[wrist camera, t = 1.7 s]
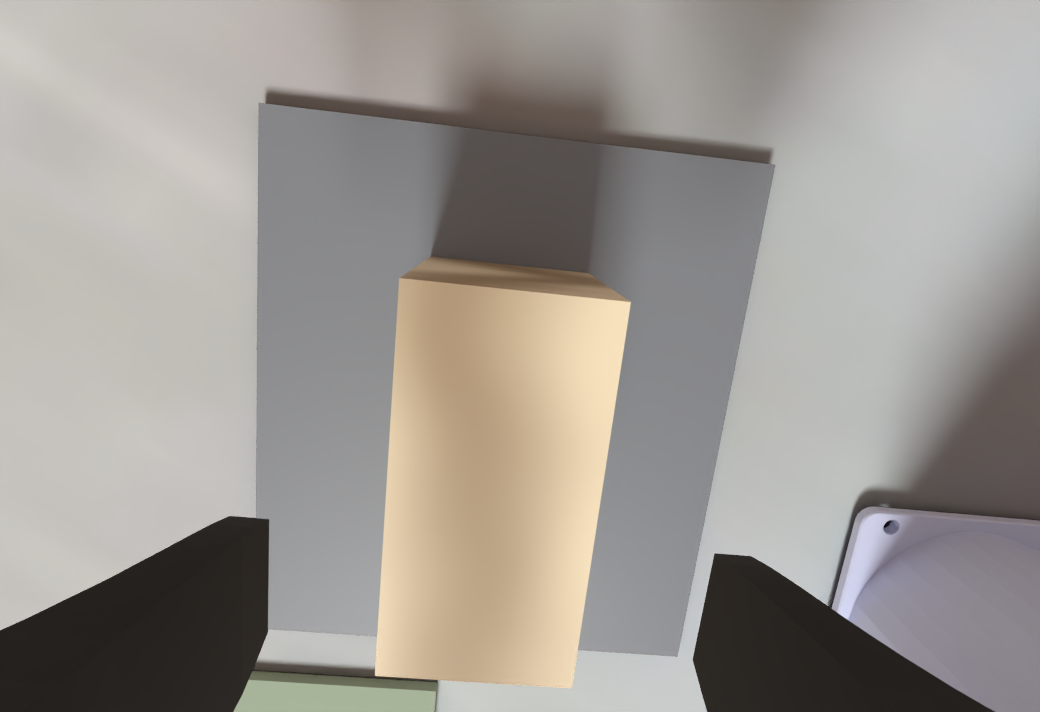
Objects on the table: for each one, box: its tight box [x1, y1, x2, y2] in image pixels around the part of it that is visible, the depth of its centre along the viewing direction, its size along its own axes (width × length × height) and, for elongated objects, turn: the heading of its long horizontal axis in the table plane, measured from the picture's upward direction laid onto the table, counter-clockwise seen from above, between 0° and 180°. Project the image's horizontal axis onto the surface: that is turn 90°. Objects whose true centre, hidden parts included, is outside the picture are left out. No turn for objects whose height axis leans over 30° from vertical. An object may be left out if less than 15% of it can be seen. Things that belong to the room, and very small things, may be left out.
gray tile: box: [256, 103, 775, 657], centre depth 18 cm, size 14×16×1 cm
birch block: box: [375, 256, 631, 688], centre depth 15 cm, size 4×9×6 cm, turn 174°
